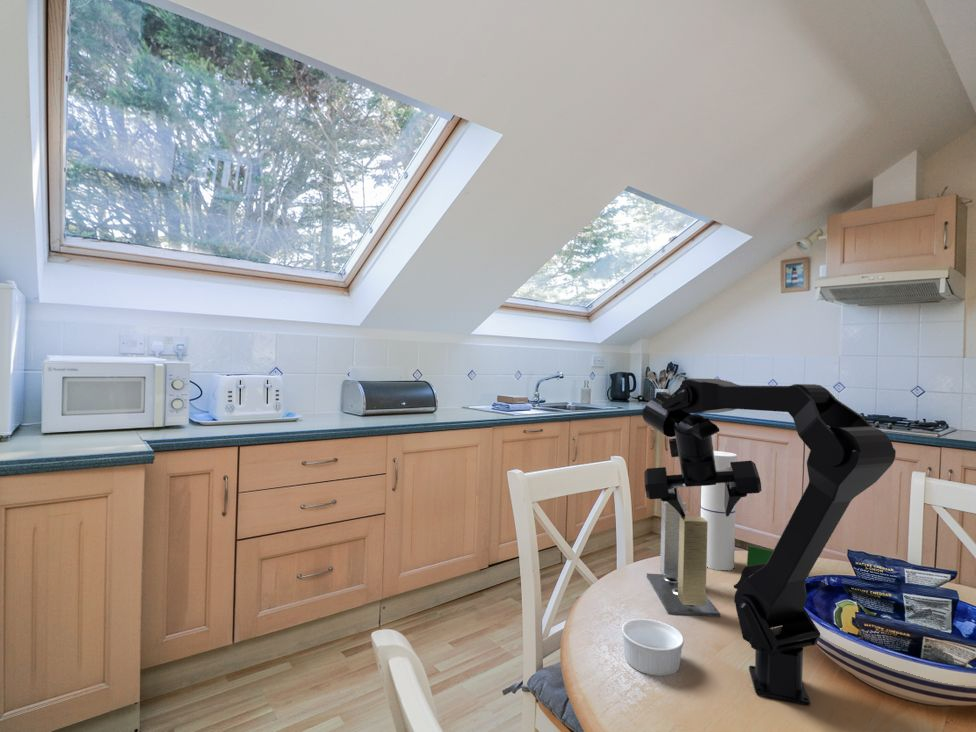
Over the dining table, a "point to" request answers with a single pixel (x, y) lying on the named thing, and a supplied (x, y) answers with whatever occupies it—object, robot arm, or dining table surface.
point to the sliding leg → (692, 560)
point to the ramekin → (652, 646)
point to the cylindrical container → (719, 519)
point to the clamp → (758, 555)
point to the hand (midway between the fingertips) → (705, 515)
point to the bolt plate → (675, 601)
